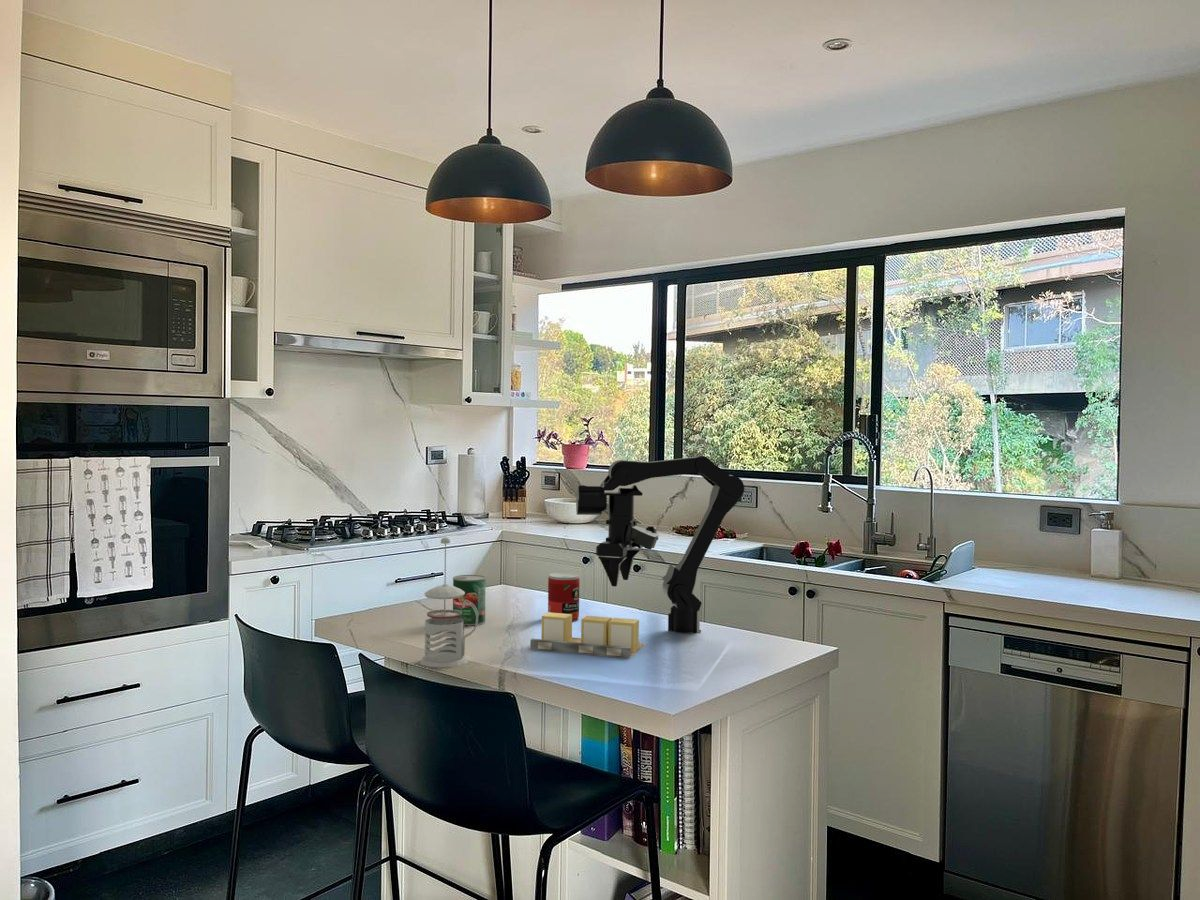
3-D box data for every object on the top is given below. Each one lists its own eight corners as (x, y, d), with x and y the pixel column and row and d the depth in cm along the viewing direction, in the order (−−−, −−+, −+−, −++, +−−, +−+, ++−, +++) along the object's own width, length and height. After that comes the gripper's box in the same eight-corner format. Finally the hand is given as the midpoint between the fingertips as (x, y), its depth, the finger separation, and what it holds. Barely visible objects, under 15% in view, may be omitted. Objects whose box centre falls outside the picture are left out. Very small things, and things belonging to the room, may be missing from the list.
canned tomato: (485, 618, 219) (486, 574, 219) (485, 625, 211) (485, 579, 211) (453, 619, 218) (453, 574, 218) (451, 626, 210) (452, 580, 210)
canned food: (566, 623, 214) (566, 578, 214) (541, 619, 219) (541, 574, 219) (585, 618, 221) (586, 574, 220) (560, 614, 225) (561, 571, 225)
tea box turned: (541, 643, 190) (541, 616, 189) (548, 639, 193) (548, 612, 193) (565, 646, 188) (565, 617, 188) (571, 641, 192) (572, 614, 192)
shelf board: (645, 648, 191) (645, 634, 191) (629, 663, 178) (629, 648, 178) (552, 640, 197) (552, 626, 197) (529, 654, 185) (530, 639, 185)
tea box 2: (638, 647, 187) (639, 619, 187) (633, 652, 183) (633, 623, 183) (613, 645, 189) (614, 617, 189) (608, 650, 185) (608, 621, 185)
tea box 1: (611, 645, 189) (611, 617, 189) (605, 649, 185) (606, 621, 185) (587, 643, 191) (587, 615, 191) (580, 647, 187) (581, 619, 187)
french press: (424, 654, 183) (426, 534, 183) (480, 655, 183) (482, 534, 183) (414, 667, 174) (415, 540, 173) (473, 668, 173) (475, 540, 173)
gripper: (644, 520, 191) (643, 592, 191) (664, 513, 209) (663, 579, 209) (595, 518, 194) (594, 588, 195) (619, 511, 212) (618, 576, 213)
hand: (620, 583), depth 203 cm, fingers open, 9 cm apart
